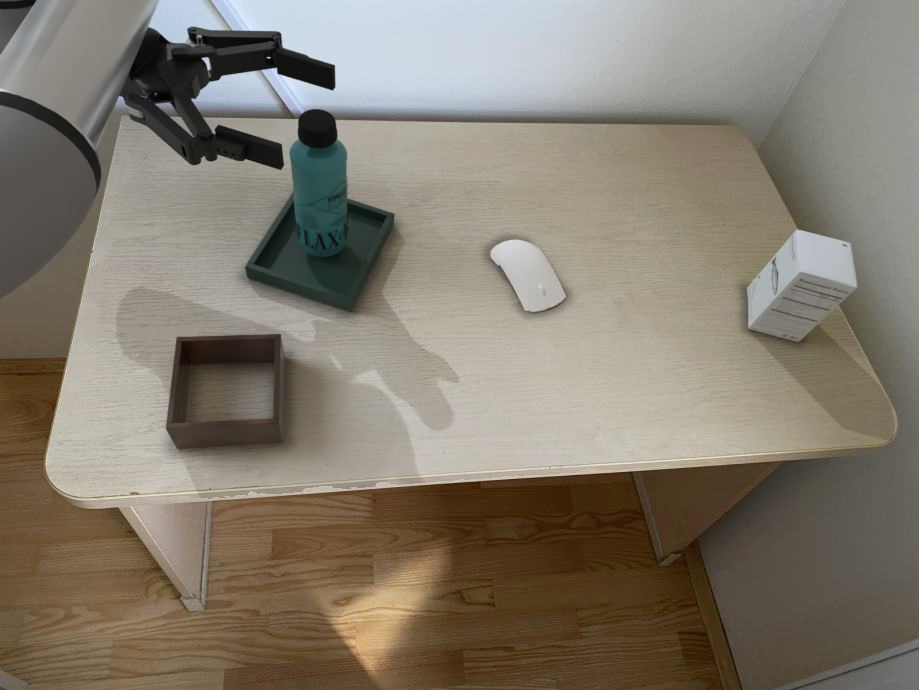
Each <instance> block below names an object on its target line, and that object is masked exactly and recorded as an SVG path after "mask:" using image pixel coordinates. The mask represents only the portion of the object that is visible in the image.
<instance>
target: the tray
mask: <svg viewBox="0 0 919 690" xmlns="http://www.w3.org/2000/svg"><path fill="white" fill-rule="evenodd" d="M347 199H348V200H347V211H348V222H347V223H348V231H347V237H348V238H347V240H348V241H346V242H347V243H346V244H345V246H344V247H343V249H342V250H341V251H340V252H338V253H337V254H335V255H332V256H328V257H317V256H313V255H310V254H308V253H307V252H305V251H304V250H303V249H302V247H301V246H300V244H298V243H299V242H297V241H298V238H297V227H295V226H296V221H295V220H294V219H296V216H295V215H294V214H295V211H294V210H295V207H294V191H293V190H292V193H291V195H289V197H288V198H287V201H286V202H285V204H284V205H283V207H282V208H281V210H280V211H279V213H278V214H277V216H276V217H275V219H274V221H272V224H271V225H270V227H269V228H268V230H267V231H266V233H265V234H264V236H263V238H262V239H261V241H260V243H259V244H258V245H257V247H256V248H255V250H254V251H253V253H252V255H251V256H250V258H249V260H248V261H247V262H246V264H245V266H244V269H245V273H246V278H247V279H249V280H252V281H255V282H259V283H261V284H264V285H267V286H270V287H273V288H276V289H279V290H282V291H285V292H288V293H291V294H294V295H297V296H300V297H303V298H305V299H310V300H312V301H315V302H317V303H321V304H324V305H327V306H329V307H332V308H336V309H339V310H342V311H345V312H348V313H352V311H353V308H354V306H355V304H356V302H357V300H358V298H359V296H360V295H361V293H362V290H363V288H364V286H365V284H366V282H367V280H368V278H369V276H370V274H371V272H372V270H373V268H374V266H375V264H376V262H377V260H378V259H379V256H380V254H381V253H382V250H383V248H384V246H385V245H386V242H387V240H388V238H389V236H390V234H391V232H392V230H393V228H394V226H395V215H396V214H395V213H394V212H391V211H388V210H385V209H381V208H379V207H375V206H373V205H369V204H366V203H363V202H360V201H357V200H353V199H352V198H348V197H347ZM294 216H295V218H294ZM295 229H296V231H295Z"/></svg>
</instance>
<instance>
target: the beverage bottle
mask: <svg viewBox="0 0 919 690" xmlns="http://www.w3.org/2000/svg"><path fill="white" fill-rule="evenodd" d="M288 154H289V160H290V168H291V180H292V188H293V189H292V192H293V191H294V207H295V210H294V211H295V214H294V215H295V216H296V219H294V220H295V221H296V226H295V227H297V238H298V241H297V242H299V243H298V244H300V246H301V247H302V249H303V250H304V251H305V252H307V253H308V254H310V255H313V256H317V257H328V256H332V255H335V254H337V253H338V252H340V251H341V250H342V249H343V247H344V246H345V244H346V243H347V242H346V241H348V240H347V238H348V237H347V231H348V223H347V222H348V211H347V200H348V199H349V198H348V197H349V195H348V192H349V183H348V179H349V177H348V176H347V173H348V172H347V163H348V162H347V161H348V151H347V148H346V146H345V145H344V143H343V142H341V140H339V139H338V127H337V121H336V119H335V116H334V114H332V113H330V112H329V111H327V110H325V109H320V108H311V109H308V110H305V111H303V112H302V113H301V114H300V115H299V117H298V119H297V139H296V140H295V141H294V142H293V143H292V144H291V146H290V147H289V153H288ZM347 198H348V199H347ZM295 216H294V218H295ZM295 231H296V229H295Z"/></svg>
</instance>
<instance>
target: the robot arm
mask: <svg viewBox="0 0 919 690" xmlns="http://www.w3.org/2000/svg"><path fill="white" fill-rule="evenodd" d="M159 2H160V0H0V300H1V299H2V298H4V297H6V296H7V295H9V294H11V293H12V292H14V291H15V290H16V289H18V288H19V287H20V286H22V285H23V284H24V283H26V282H27V281H29V280H30V279H32V277H34V276H36V275H37V274H38V273H40V272H41V270H42V269H43V268H45V266H46V265H47V264H49V263H50V262H51V261H52V260H53V259H54V258H55V257H56V256H57V255H58V254H59V253H60V252H61V251H62V250H63V249H64V248H65V246H66V245H67V244H68V242H69V241H70V240H71V239H72V238H73V236H74V235H75V234H76V232H78V230H79V228H80V227H81V225H82V223H83V222H84V221H85V219H86V217H87V215H88V214H89V212H90V211H91V209H92V206H93V204H94V201H95V199H96V197H97V194H98V192H99V189H100V186H101V183H102V179H103V163H102V161H101V157H100V155H99V152H98V150H97V149H98V147H99V145H100V142H101V140H102V137H103V135H104V133H105V131H106V129H107V126H108V124H109V121H110V118H111V116H112V113H113V111H114V109H115V107H116V104H117V102H118V101H119V97H121V98H123V100H124V104H125V107H126V110H127V113H128V117H129V119H130V120H131V121H133V122H135V123H138V124H140V125H143V126H145V127H147V128H148V129H149V130H150V131H152V132H153V133H154V134H155V135H156V136H157V137H159V139H161V140H162V141H163V142H164V143H165V144H166V145H167V146H169V147H170V148H171V149H172V150H173V151H174V152H175V153H177V155H179V156H180V157H181V158H182V159H183V160H184V161H185V162H187V163H188V164H189V165H191V166H198V165H200V164H201V163H202V158H204V159H205V161H207V162H210V163H211V162H215V161H217V160H218V158H219V157H218V156H221V157H224V158H226V159H230V160H232V161H236V162H244V161H245V160H246V161H250V162H253V163H256V164H259V165H263V166H266V167H270V168H272V169H276V170H279V171H282V169H283V168H284V167H285V161H284V152H283V151H284V150H283V144H282V143H280V142H277V141H273V140H270V139H267V138H264V137H262V136H261V137H260V136H258V135H253V134H250V133H248V132H245V131H241V130H238V129H234V128H231V127H228V126H224V125H221V124H217V125H216V127H215V128H214V132H215V133H213V130H212V129H211V126H210V125H209V124H208V123H207V121H206V119H205V118H204V117H203V115H202V114H201V112H200V111H199V110H200V109H198V108H197V106H196V104H195V103H194V101H193V100H196V99H197V98H198V97H199V96H200V93H201V90H203V89H205V88H206V87H207V86H208V85H209V83H212V82H217V81H219V80H221V78H222V77H223V76H231V75H237V74H238V75H239V74H244V73H252V72H259V71H265V70H266V71H267V70H272V69H276V73H277V75H280V76H283V77H286V78H290V79H292V80H295V81H296V80H297V81H299V82H302V83H306V84H310V85H313V86H316V87H318V88H323V89H326V90H329V91H332V92H333V91H334V90H335V89H336V65H335V64H332V63H329V62H326V61H323V60H319V59H316V58H313V57H310V56H309V55H307V54H305V53H302V52H297V51H295V50H292V49H288V48H285V47H283V36H282V33H281V31H277V30H230V29H228V30H227V29H226V30H225V29H208V28H203V27H199V26H189V27H187V29H186V32H187V36H188V38H187V39H186V41H185V42H172V41H169V40H168V39H167V38H166V37H164V35H162V34H161V32H159V30H157V29H155V28H153V27H150V24H151V22H152V19H153V16H154V14H155V13H156V10H157V8H158V4H159ZM205 58H207V59H208V63H209V69H208V65H207V63H206V61H205V60H204V59H205ZM192 99H193V100H192ZM157 104H159V105H160V104H170V105H171V107H172V109H174V112H175V113H176V114H177V116H178V117H179V118H181V120H182V121H183V123H184V124H185V127H186V128H187V129H188V130H189V132H188V131H187V130H186V129H184V128H183V127H182V126H181V125H180V124H179V123H177V121H176V120H174V119H173V118H172V117H171V116H169V115H168V113H166V112H165V111H164V110H163V109H161V108H160V107H159V106H158V105H157Z"/></svg>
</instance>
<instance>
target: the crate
mask: <svg viewBox="0 0 919 690" xmlns="http://www.w3.org/2000/svg"><path fill="white" fill-rule="evenodd" d="M173 355H174V357H173V364H172V371H171V380H170V381H171V382H170V390H169V396H168V397H169V398H168V406H167V414H166V422H165V423H166V424H165V429H166V432H167V433H168V435H169V437H170V439H171V441H172V442H173V444H174V446H175V448H176V449H177V450H180V449H182V450H183V449H198V448H199V449H201V448H217V447H235V446H253V445H254V446H255V445H269V444H283V443H284V426H285V425H284V419H285V372H286V371H285V369H286V367H285V366H286V365H285V363H286V358H285V351H284V344H283V337H282V334H281V333H266V334H265V333H263V334H227V335H225V334H224V335H196V336H195V335H193V336H190V335H189V336H176V340H175V347H174V354H173ZM248 363H249V364H250V363H273V372H274V373H273V396H272V397H273V399H272V400H273V401H272V402H273V403H272V418H271V417H270V418H254V419H253V418H252V419H232V420H230V419H229V420H212V421H193V422H192V421H190V422H186V421H187V412H188V411H187V410H188V403H189V402H188V401H189V391H190V382H191V373H192V365H218V364H222V365H223V364H248Z"/></svg>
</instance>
